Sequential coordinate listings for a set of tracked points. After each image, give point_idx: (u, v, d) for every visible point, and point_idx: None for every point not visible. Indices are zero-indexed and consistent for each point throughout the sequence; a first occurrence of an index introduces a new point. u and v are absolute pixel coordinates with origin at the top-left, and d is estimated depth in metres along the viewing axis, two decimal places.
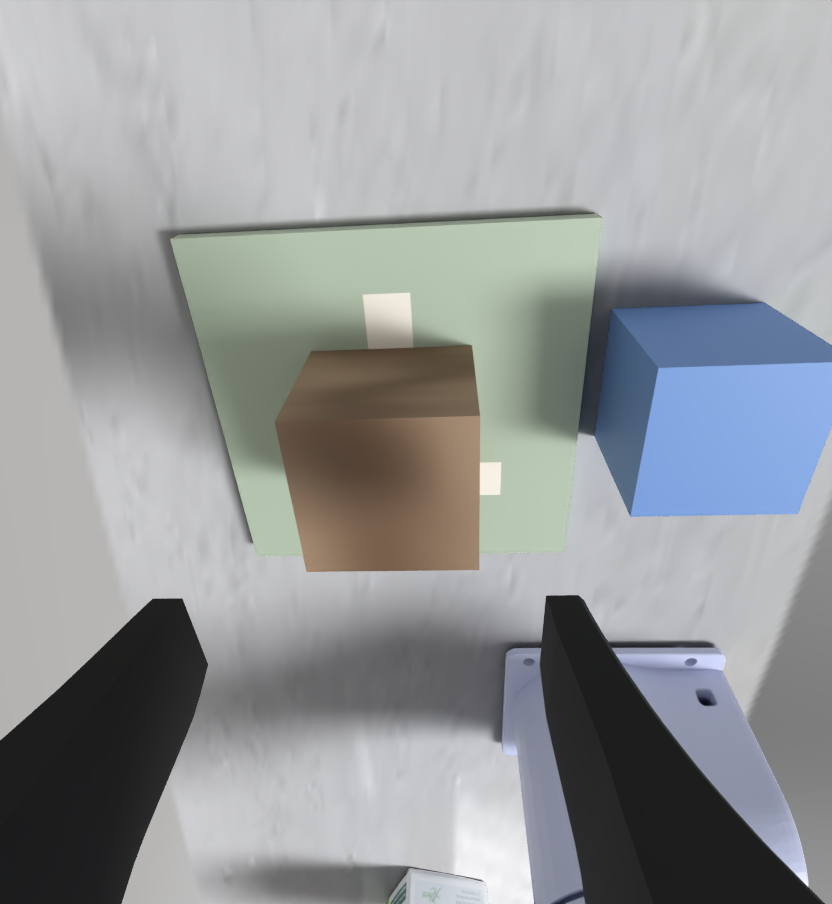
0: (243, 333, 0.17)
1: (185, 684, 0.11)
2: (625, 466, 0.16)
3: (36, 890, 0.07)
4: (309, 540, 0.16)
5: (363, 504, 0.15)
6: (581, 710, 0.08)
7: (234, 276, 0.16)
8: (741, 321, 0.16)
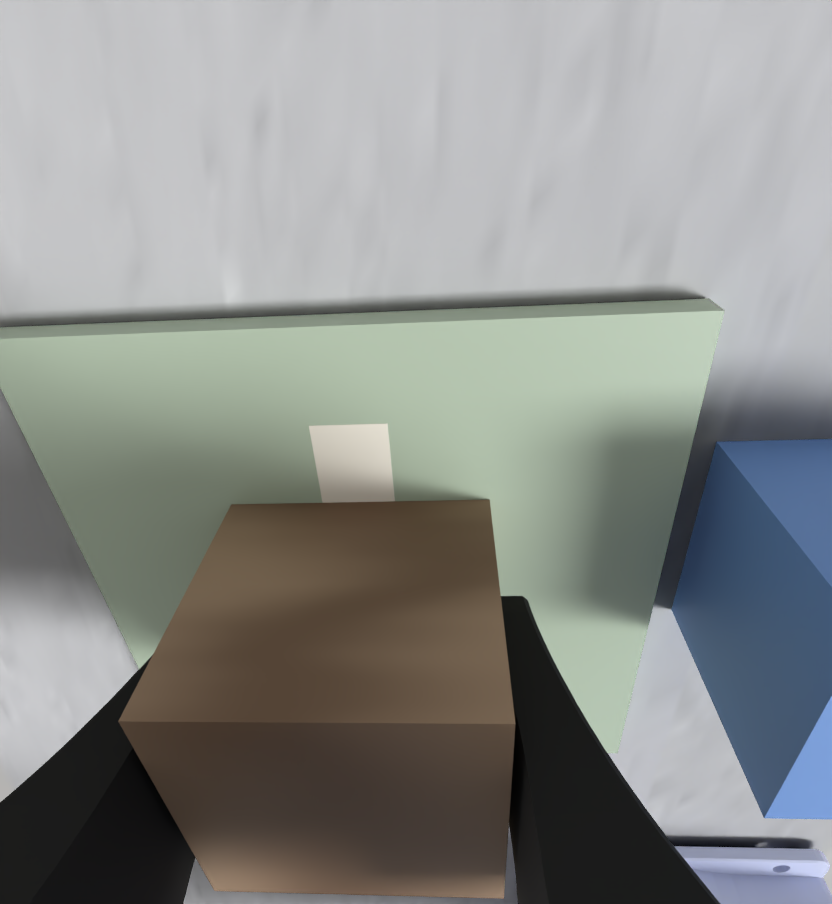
0: (120, 479, 0.11)
1: None
2: (751, 722, 0.10)
3: (112, 892, 0.07)
4: (212, 860, 0.09)
5: (301, 825, 0.08)
6: None
7: (94, 398, 0.10)
8: None
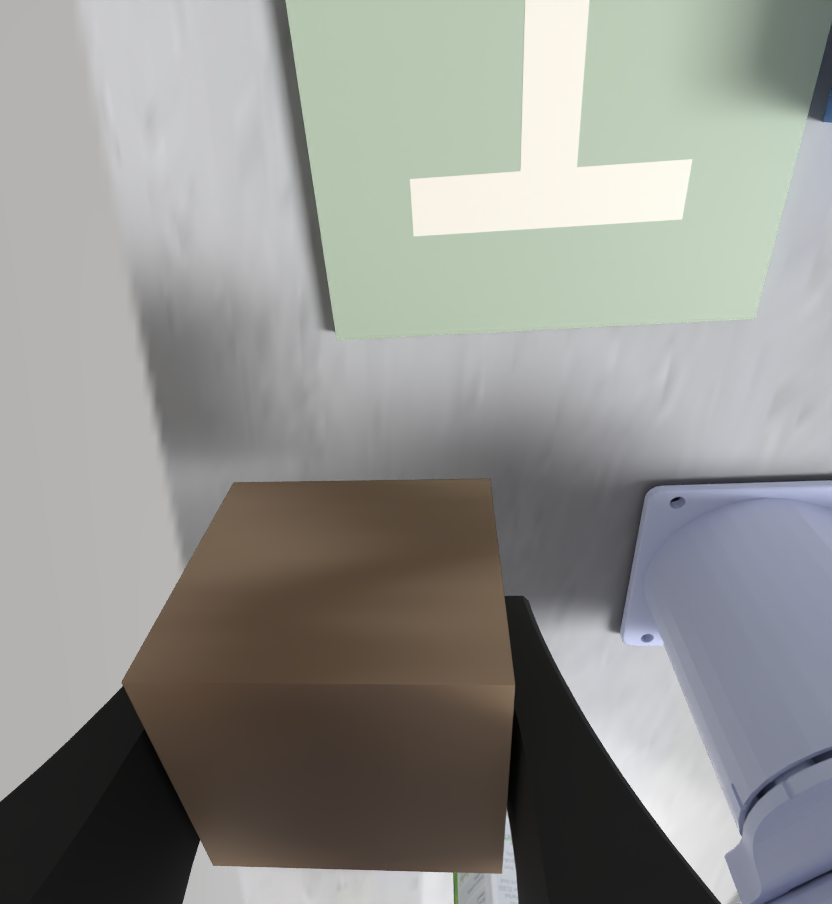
0: None
1: None
2: None
3: (111, 892, 0.07)
4: (211, 832, 0.09)
5: (299, 794, 0.08)
6: None
7: None
8: None
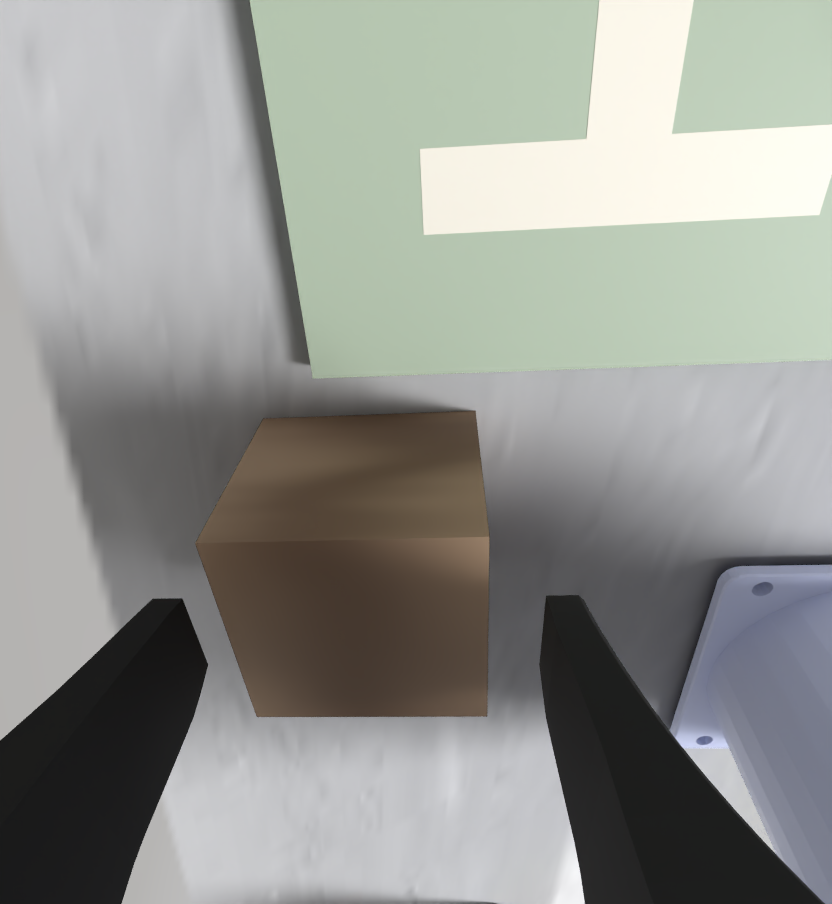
0: None
1: (185, 684, 0.11)
2: None
3: (36, 890, 0.07)
4: (257, 682, 0.12)
5: (327, 643, 0.11)
6: (581, 710, 0.08)
7: None
8: None
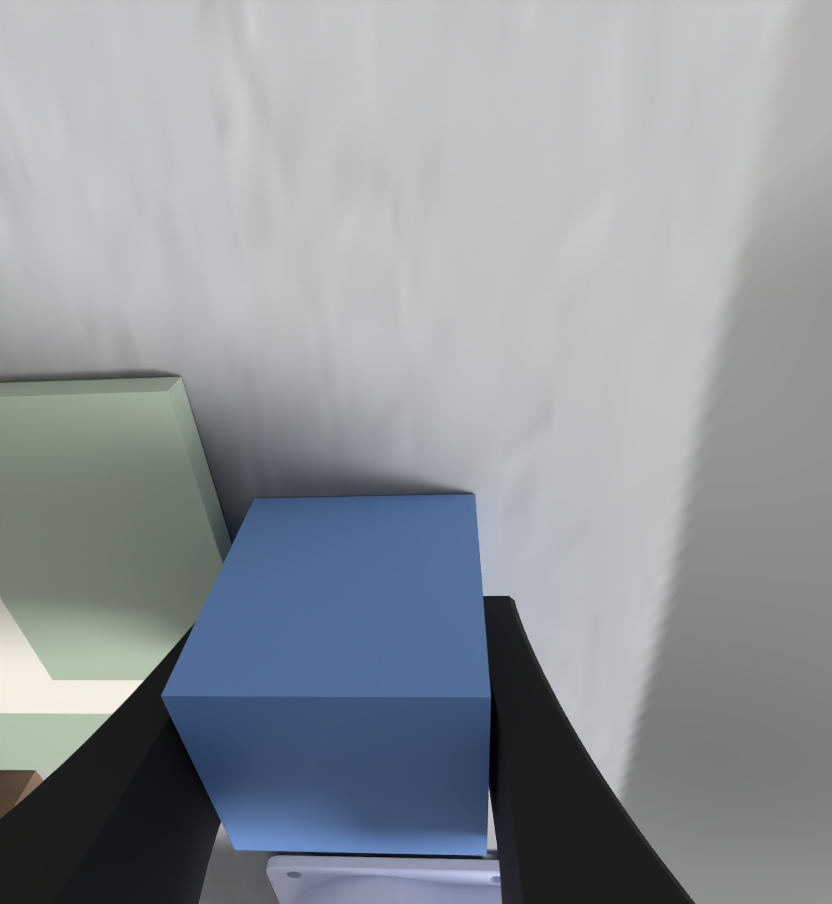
0: None
1: None
2: None
3: (131, 893, 0.07)
4: None
5: None
6: (494, 710, 0.08)
7: None
8: (404, 548, 0.10)
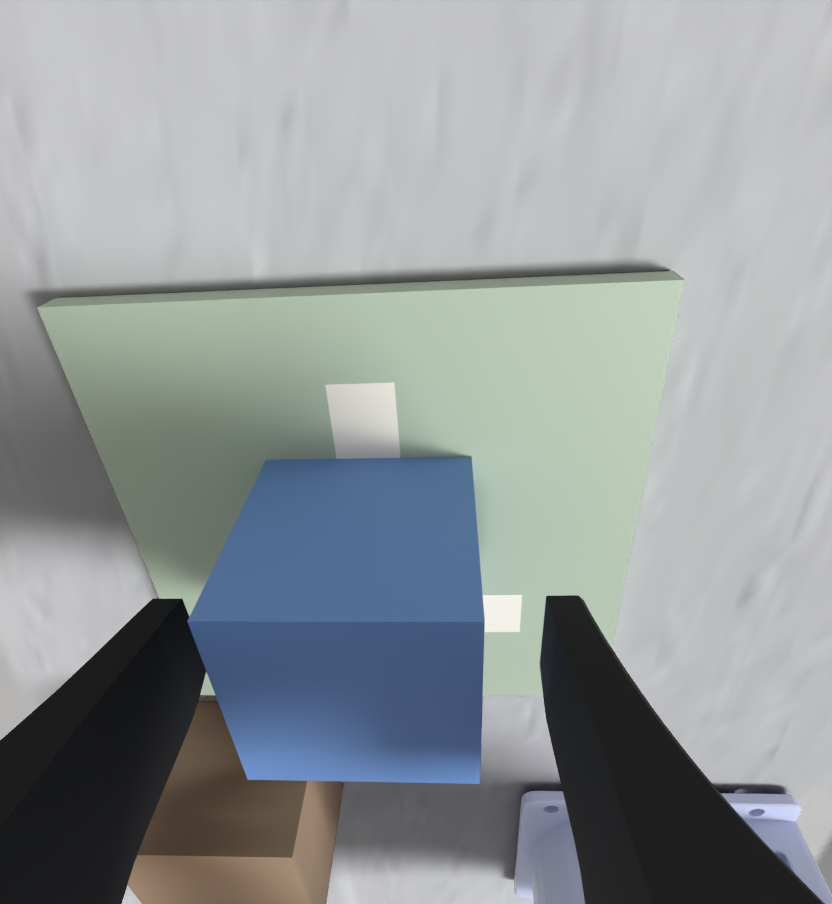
0: (157, 434, 0.12)
1: (185, 684, 0.11)
2: None
3: (36, 890, 0.07)
4: None
5: (202, 898, 0.16)
6: (581, 710, 0.08)
7: (137, 359, 0.11)
8: (406, 501, 0.11)
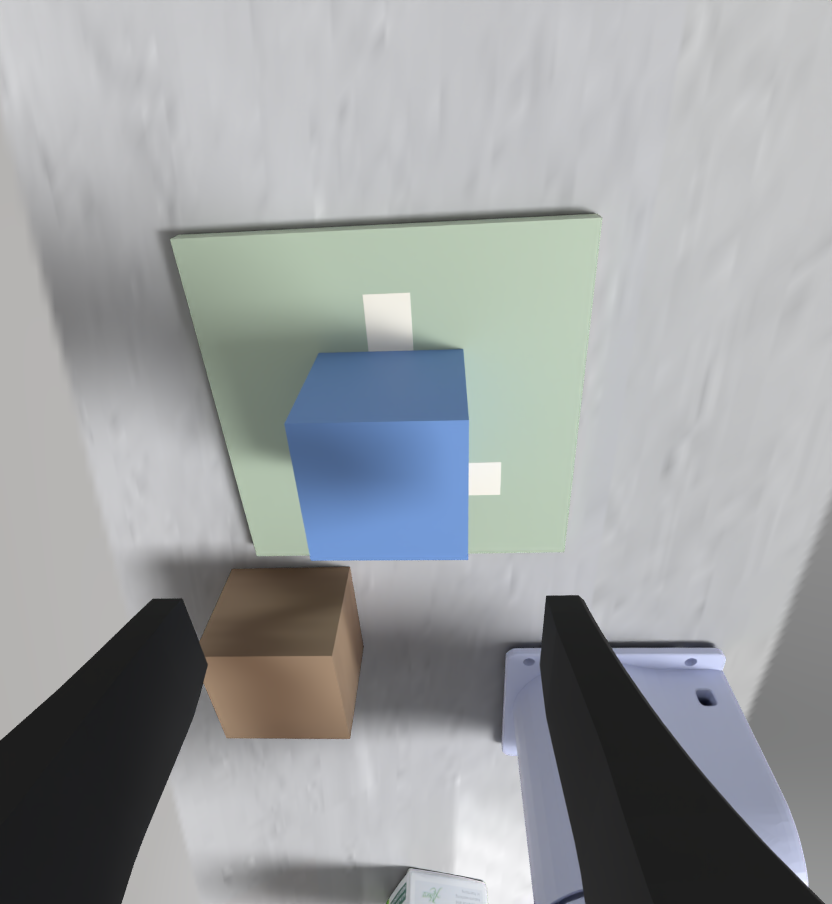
0: (243, 334, 0.17)
1: (185, 684, 0.11)
2: None
3: (36, 890, 0.07)
4: (225, 720, 0.22)
5: (260, 702, 0.21)
6: (581, 710, 0.08)
7: (234, 277, 0.16)
8: (418, 371, 0.16)
